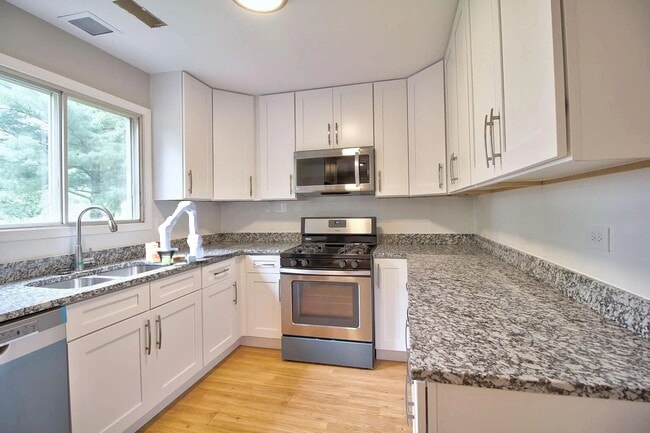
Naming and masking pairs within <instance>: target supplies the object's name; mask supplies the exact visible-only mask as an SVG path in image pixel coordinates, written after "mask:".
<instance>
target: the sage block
mask: <svg viewBox="0 0 650 433" xmlns="http://www.w3.org/2000/svg"><path fill="white" fill-rule="evenodd" d="M171 263H172V262H171V261H170V255H168V256H165V255H164V256H162V263H161V266H166V265H167V266H168V265H171Z"/></svg>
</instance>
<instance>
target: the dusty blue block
mask: <svg viewBox="0 0 650 433" xmlns="http://www.w3.org/2000/svg"><path fill="white" fill-rule="evenodd" d="M186 258H187V259H186V262H187V261H188V262H192V263H197V258H196V255H195V254H193V255H190V254H187V256H186Z"/></svg>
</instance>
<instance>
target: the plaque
mask: <svg viewBox="0 0 650 433" xmlns="http://www.w3.org/2000/svg"><path fill="white" fill-rule="evenodd" d="M172 265H173V266H174V267H181V266H182V267H183V266H190V263H188V262H187V261H184V262H175V263H172Z"/></svg>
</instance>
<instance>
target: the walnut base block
mask: <svg viewBox="0 0 650 433" xmlns="http://www.w3.org/2000/svg"><path fill="white" fill-rule="evenodd" d="M182 261H184V262H186V256H185V255H183V254H180V255H179V254H178V255H173V257H172V261H171V263H172V264H173V263H182Z"/></svg>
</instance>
